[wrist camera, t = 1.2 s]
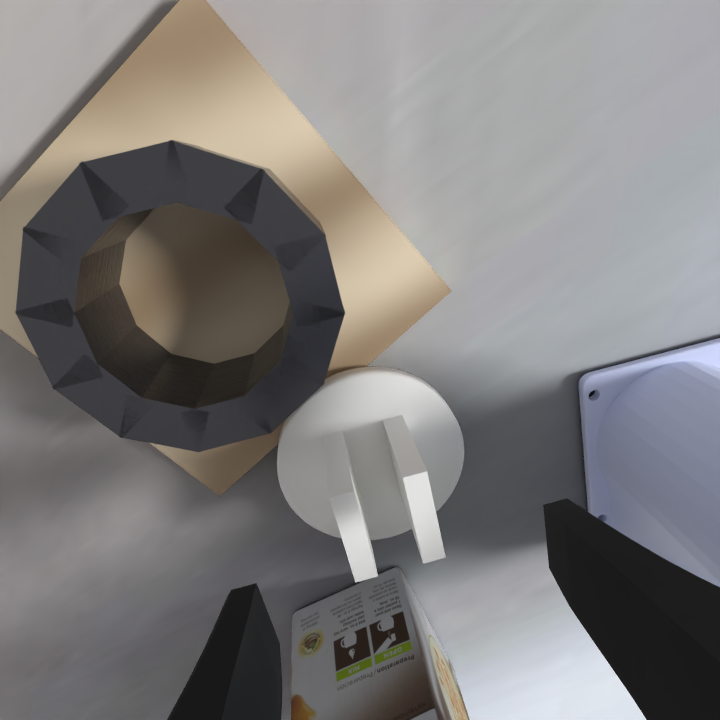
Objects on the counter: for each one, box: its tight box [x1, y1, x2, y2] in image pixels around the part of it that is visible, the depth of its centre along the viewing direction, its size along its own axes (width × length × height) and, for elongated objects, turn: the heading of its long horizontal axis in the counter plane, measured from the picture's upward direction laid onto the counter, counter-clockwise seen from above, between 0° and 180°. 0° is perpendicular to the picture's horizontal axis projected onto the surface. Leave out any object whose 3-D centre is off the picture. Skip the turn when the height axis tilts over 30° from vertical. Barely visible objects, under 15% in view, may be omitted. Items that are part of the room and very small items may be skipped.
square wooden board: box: [0, 0, 451, 496], centre depth 19 cm, size 13×13×1 cm
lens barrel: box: [15, 140, 345, 452], centre depth 17 cm, size 9×9×4 cm
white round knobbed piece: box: [277, 367, 464, 583], centre depth 20 cm, size 8×8×6 cm
